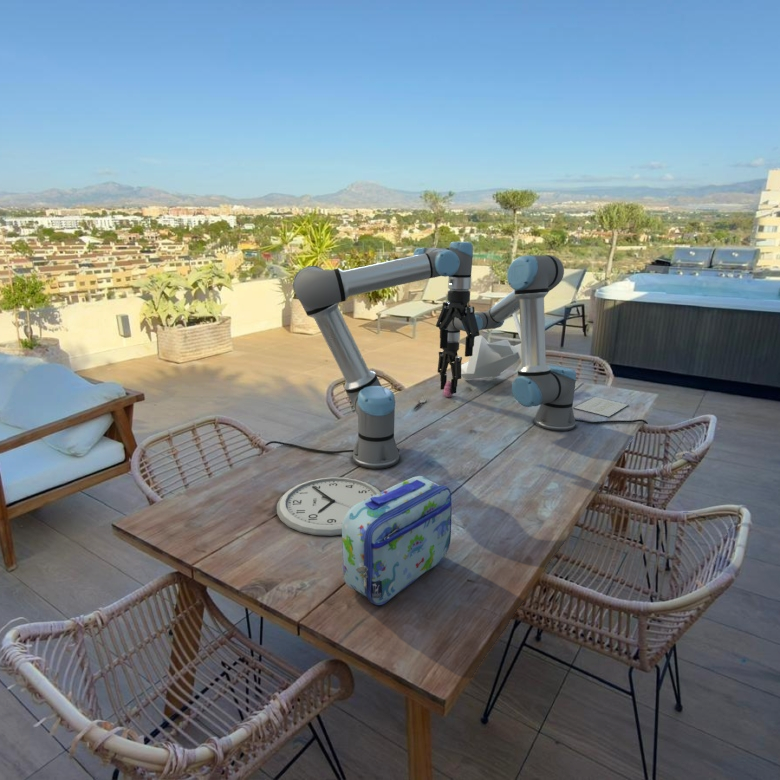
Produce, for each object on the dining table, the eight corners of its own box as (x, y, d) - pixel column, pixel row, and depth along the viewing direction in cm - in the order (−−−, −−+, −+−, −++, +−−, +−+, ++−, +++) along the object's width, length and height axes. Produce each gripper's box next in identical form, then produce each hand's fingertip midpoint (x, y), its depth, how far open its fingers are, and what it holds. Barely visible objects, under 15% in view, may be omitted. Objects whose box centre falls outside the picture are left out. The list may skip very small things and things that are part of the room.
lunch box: (371, 618, 102) (371, 524, 95) (336, 591, 109) (334, 502, 103) (455, 562, 119) (460, 479, 113) (420, 542, 126) (423, 463, 120)
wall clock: (392, 527, 129) (268, 531, 127) (391, 533, 130) (269, 537, 127) (383, 473, 158) (282, 475, 155) (383, 478, 158) (282, 480, 156)
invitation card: (608, 416, 214) (573, 407, 224) (608, 416, 214) (573, 408, 224) (628, 404, 229) (594, 396, 238) (628, 405, 229) (594, 397, 238)
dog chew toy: (448, 394, 240) (449, 379, 237) (454, 397, 236) (455, 382, 234) (440, 395, 237) (441, 380, 235) (446, 398, 234) (447, 383, 231)
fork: (410, 410, 218) (411, 405, 217) (421, 399, 232) (422, 394, 231) (416, 411, 217) (417, 406, 216) (427, 399, 231) (427, 395, 230)
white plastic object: (480, 422, 262) (459, 399, 237) (462, 348, 284) (440, 320, 259) (552, 397, 249) (538, 371, 225) (527, 322, 271) (511, 291, 247)
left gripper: (427, 286, 182) (425, 346, 189) (475, 294, 162) (471, 361, 169) (444, 285, 186) (442, 344, 193) (493, 293, 166) (488, 358, 172)
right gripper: (430, 337, 235) (428, 386, 242) (458, 346, 219) (455, 398, 226) (443, 336, 239) (441, 384, 246) (472, 344, 223) (468, 395, 230)
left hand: (455, 352), depth 181 cm, fingers open, 13 cm apart
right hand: (448, 391), depth 236 cm, fingers open, 7 cm apart
